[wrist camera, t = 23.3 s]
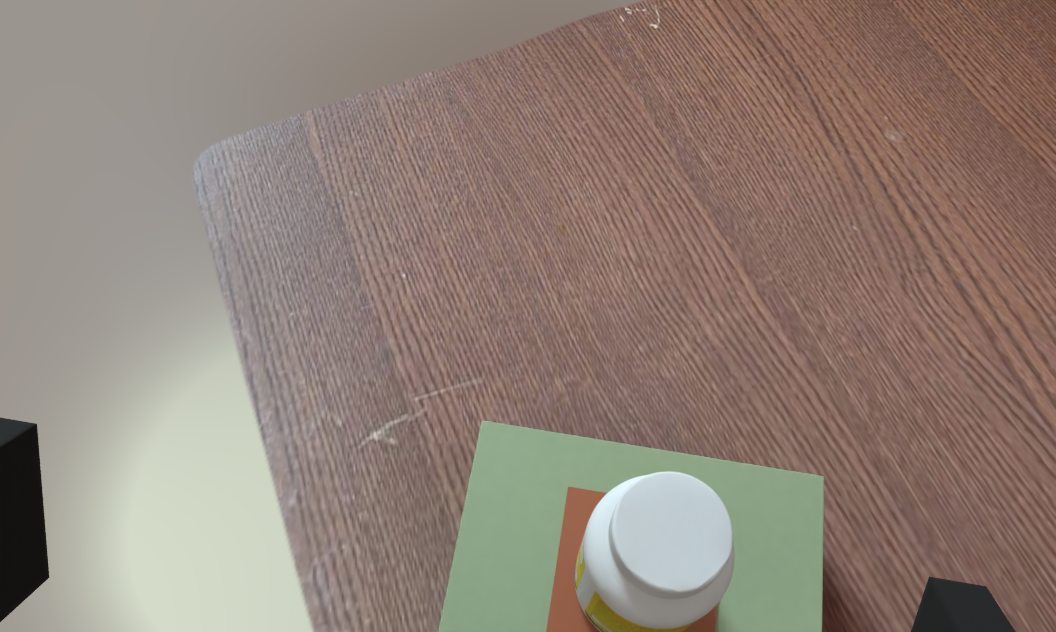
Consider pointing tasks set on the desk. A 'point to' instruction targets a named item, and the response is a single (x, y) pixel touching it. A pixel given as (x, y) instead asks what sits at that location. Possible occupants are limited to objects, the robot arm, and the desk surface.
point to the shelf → (564, 511)
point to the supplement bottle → (654, 555)
